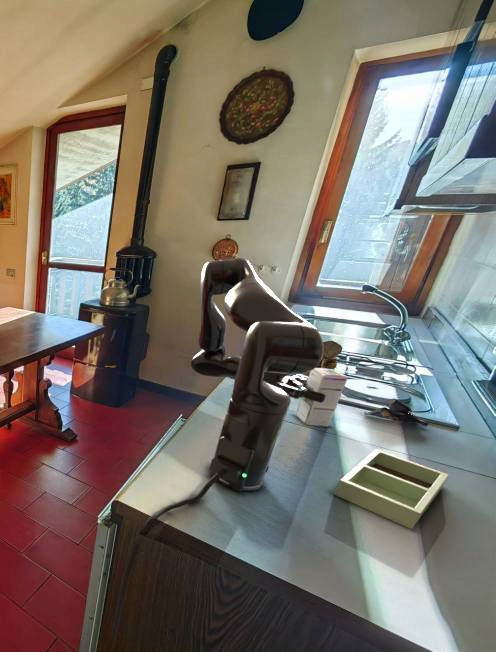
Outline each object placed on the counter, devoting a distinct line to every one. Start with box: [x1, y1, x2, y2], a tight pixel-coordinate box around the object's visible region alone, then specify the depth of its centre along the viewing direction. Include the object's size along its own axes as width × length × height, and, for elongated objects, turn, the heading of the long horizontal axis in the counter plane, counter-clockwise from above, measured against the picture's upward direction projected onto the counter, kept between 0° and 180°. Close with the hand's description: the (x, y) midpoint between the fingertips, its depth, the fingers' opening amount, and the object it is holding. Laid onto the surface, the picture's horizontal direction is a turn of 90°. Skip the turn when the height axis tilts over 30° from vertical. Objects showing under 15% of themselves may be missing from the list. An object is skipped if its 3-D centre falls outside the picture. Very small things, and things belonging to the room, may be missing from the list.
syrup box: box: [295, 368, 349, 428], centre depth 103 cm, size 6×6×14 cm
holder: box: [333, 449, 450, 530], centre depth 78 cm, size 21×11×4 cm, turn 123°
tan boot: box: [301, 340, 343, 377], centre depth 123 cm, size 9×14×18 cm, turn 140°
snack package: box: [364, 397, 429, 427], centre depth 107 cm, size 12×6×12 cm
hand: (330, 395), depth 101 cm, fingers closed on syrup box, 8 cm apart
